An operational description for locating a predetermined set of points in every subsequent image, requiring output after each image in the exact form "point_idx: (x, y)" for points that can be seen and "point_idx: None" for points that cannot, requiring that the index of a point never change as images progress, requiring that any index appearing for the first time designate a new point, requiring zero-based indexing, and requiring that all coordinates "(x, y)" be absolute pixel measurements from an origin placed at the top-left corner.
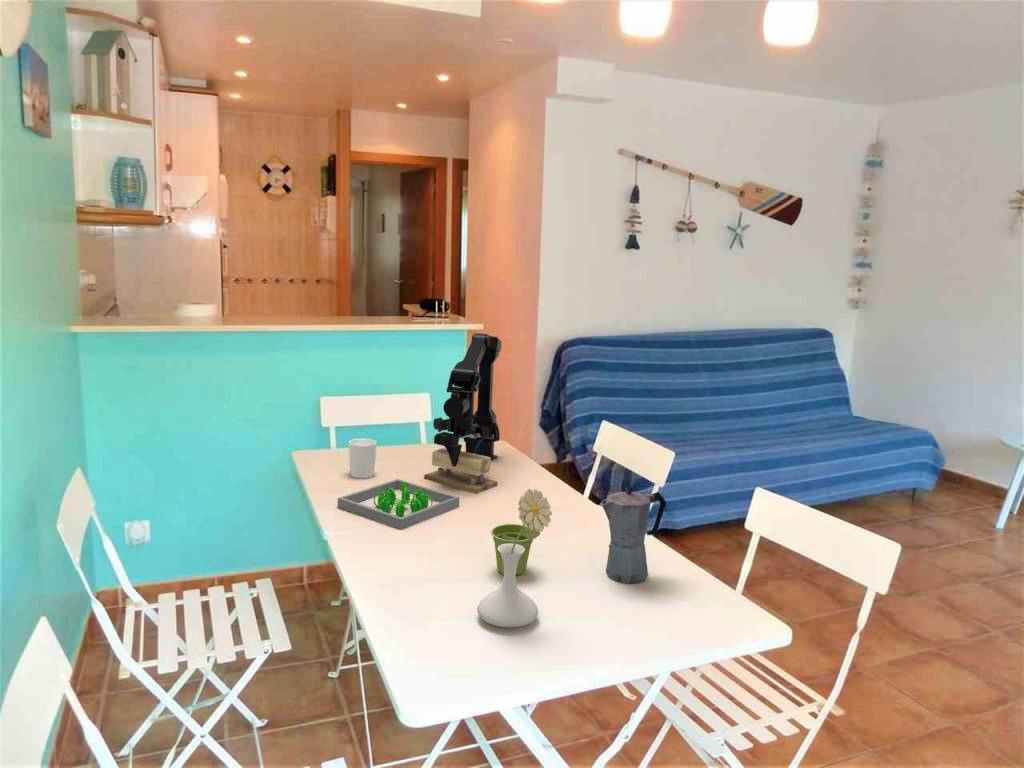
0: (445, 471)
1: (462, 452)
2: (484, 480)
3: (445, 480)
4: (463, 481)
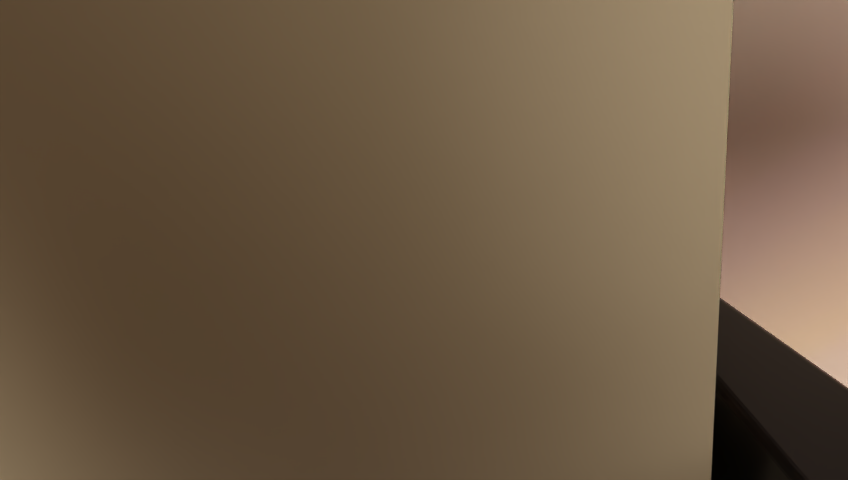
0: None
1: (567, 433)
2: None
3: None
4: None
